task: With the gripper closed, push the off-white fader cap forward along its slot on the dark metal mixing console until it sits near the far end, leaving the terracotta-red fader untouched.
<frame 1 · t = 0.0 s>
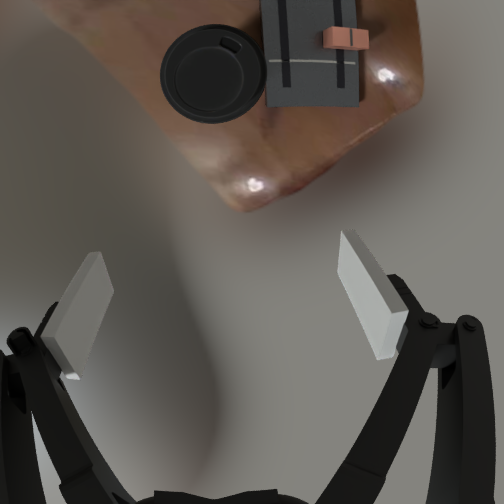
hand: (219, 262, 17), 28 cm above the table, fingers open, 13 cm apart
fader b: (345, 38, 30), point 4 cm above the table, slide at 11.0 cm
coffee cup: (218, 74, 36), on the table
console: (307, 19, 32), on the table
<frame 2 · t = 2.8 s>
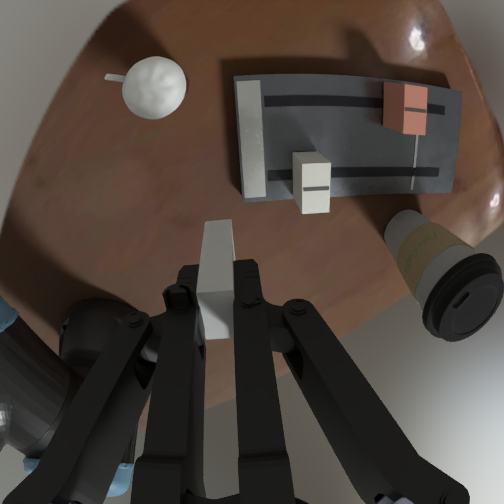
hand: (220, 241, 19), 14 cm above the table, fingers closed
fader a: (310, 181, 27), point 4 cm above the table, slide at 2.0 cm
milkshake: (168, 83, 26), on the table
fader b: (404, 107, 24), point 4 cm above the table, slide at 11.0 cm
coffee cup: (404, 230, 36), on the table
console: (357, 133, 30), on the table
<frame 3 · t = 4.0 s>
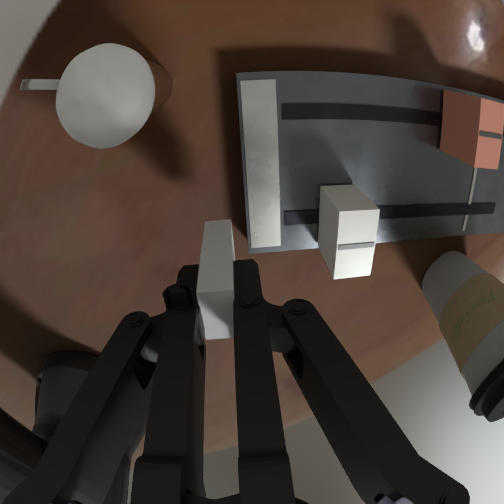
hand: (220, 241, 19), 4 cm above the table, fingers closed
fader a: (345, 229, 19), point 4 cm above the table, slide at 2.0 cm
milkshake: (143, 85, 18), on the table
fader b: (472, 127, 16), point 4 cm above the table, slide at 11.0 cm
coffee cup: (444, 274, 28), on the table
console: (403, 157, 21), on the table
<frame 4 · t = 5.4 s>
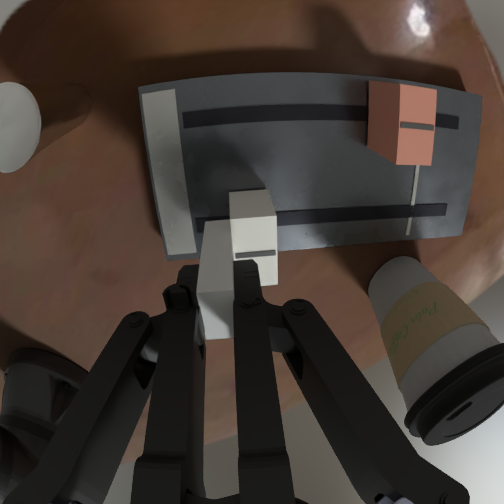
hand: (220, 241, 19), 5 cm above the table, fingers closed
fader a: (252, 237, 19), point 4 cm above the table, slide at 2.1 cm, touching gripper
milkshake: (68, 104, 18), on the table
fader b: (400, 120, 16), point 4 cm above the table, slide at 11.0 cm
coffee cup: (395, 281, 28), on the table
console: (330, 157, 21), on the table
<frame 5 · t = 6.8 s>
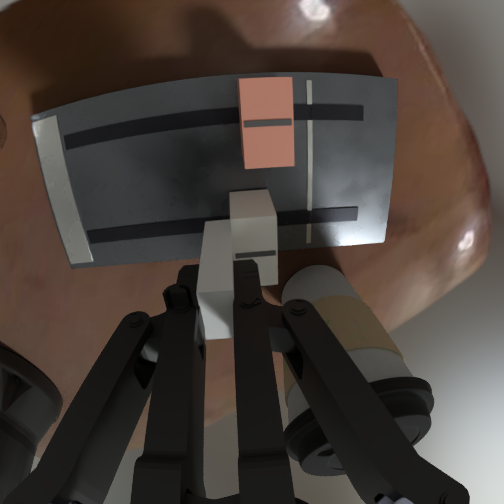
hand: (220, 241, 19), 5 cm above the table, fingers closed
fader a: (253, 236, 19), point 4 cm above the table, slide at 10.1 cm, touching gripper
fader b: (263, 117, 16), point 4 cm above the table, slide at 11.0 cm
coffee cup: (315, 291, 28), on the table
console: (214, 164, 21), on the table
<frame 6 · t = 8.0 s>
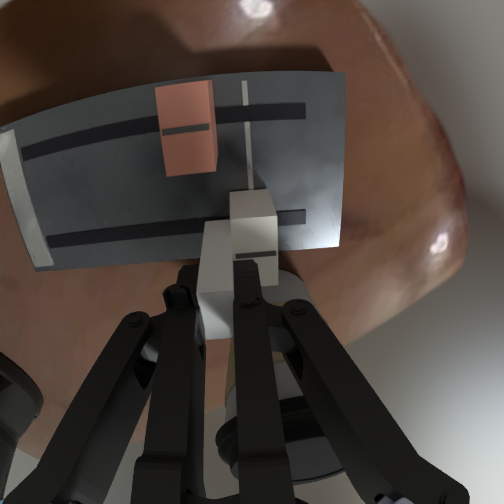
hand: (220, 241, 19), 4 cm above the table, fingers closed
fader a: (253, 237, 19), point 4 cm above the table, slide at 13.9 cm, touching gripper
fader b: (190, 123, 15), point 4 cm above the table, slide at 11.0 cm
coffee cup: (272, 296, 27), on the table
console: (159, 170, 21), on the table
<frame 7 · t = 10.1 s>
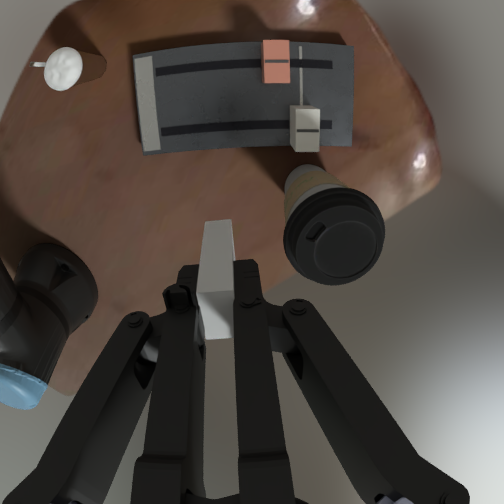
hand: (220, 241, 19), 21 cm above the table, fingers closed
fader a: (304, 127, 31), point 4 cm above the table, slide at 13.9 cm
milkshake: (93, 66, 30), on the table
fader b: (274, 62, 28), point 4 cm above the table, slide at 11.0 cm
coffee cup: (308, 186, 39), on the table
console: (245, 93, 33), on the table
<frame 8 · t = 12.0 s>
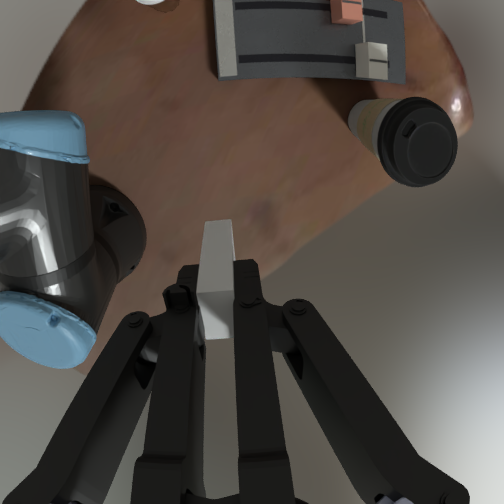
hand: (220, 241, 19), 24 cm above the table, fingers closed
fader a: (371, 61, 31), point 4 cm above the table, slide at 13.9 cm
milkshake: (164, 1, 29), on the table
fader b: (345, 5, 27), point 4 cm above the table, slide at 11.0 cm
coffee cup: (367, 120, 39), on the table
console: (313, 33, 32), on the table
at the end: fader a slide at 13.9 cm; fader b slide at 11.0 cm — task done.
